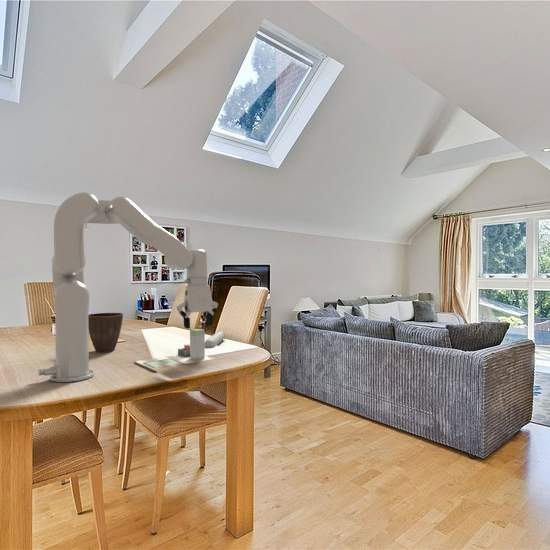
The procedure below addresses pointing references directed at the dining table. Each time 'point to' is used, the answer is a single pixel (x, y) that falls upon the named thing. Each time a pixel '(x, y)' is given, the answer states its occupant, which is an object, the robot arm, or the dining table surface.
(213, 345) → the tube
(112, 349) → the plant pot
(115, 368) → the dining table surface
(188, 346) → the button
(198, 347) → the grey upright block
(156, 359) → the board
